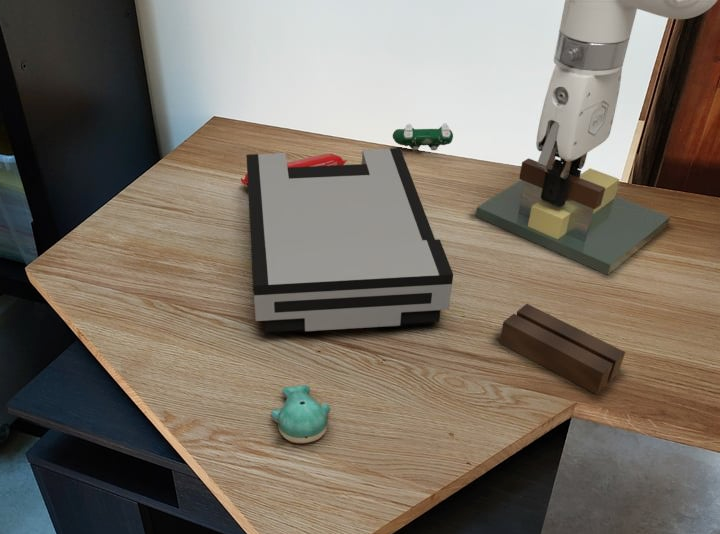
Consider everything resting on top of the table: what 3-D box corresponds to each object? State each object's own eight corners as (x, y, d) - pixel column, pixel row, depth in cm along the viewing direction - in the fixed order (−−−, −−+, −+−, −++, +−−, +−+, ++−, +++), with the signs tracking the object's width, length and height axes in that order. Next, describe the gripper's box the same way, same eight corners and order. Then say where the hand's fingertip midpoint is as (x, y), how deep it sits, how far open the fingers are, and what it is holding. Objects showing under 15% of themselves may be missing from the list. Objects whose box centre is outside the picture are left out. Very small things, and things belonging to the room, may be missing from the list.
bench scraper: (591, 240, 99) (605, 187, 94) (585, 245, 98) (599, 191, 93) (518, 209, 104) (528, 157, 99) (512, 213, 103) (521, 161, 99)
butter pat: (565, 233, 100) (570, 212, 98) (557, 239, 99) (562, 218, 97) (536, 220, 102) (540, 200, 100) (527, 226, 101) (531, 205, 99)
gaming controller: (392, 156, 123) (397, 143, 117) (391, 132, 123) (396, 118, 117) (450, 155, 123) (458, 142, 117) (449, 131, 123) (457, 117, 117)
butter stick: (614, 199, 107) (619, 178, 105) (580, 223, 102) (585, 202, 100) (585, 187, 109) (590, 168, 107) (550, 211, 104) (554, 190, 102)
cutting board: (667, 226, 104) (670, 216, 103) (607, 275, 96) (610, 265, 95) (539, 176, 114) (541, 167, 113) (475, 216, 106) (476, 206, 105)
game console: (397, 194, 110) (401, 139, 104) (445, 335, 86) (453, 274, 81) (249, 201, 108) (245, 145, 103) (257, 347, 85) (253, 285, 79)
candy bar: (349, 155, 112) (349, 175, 114) (338, 145, 115) (337, 164, 117) (246, 179, 107) (248, 199, 109) (236, 168, 109) (238, 188, 111)
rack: (618, 373, 82) (625, 351, 80) (596, 395, 80) (603, 373, 78) (522, 324, 88) (526, 303, 86) (498, 343, 86) (503, 321, 84)
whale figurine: (274, 451, 73) (273, 423, 71) (267, 398, 79) (266, 370, 76) (335, 445, 74) (336, 416, 72) (325, 393, 79) (324, 365, 77)
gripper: (583, 78, 80) (549, 233, 92) (655, 41, 88) (614, 188, 101) (522, 59, 84) (496, 211, 96) (596, 25, 92) (564, 169, 105)
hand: (557, 198), depth 98 cm, fingers closed on bench scraper, 1 cm apart
